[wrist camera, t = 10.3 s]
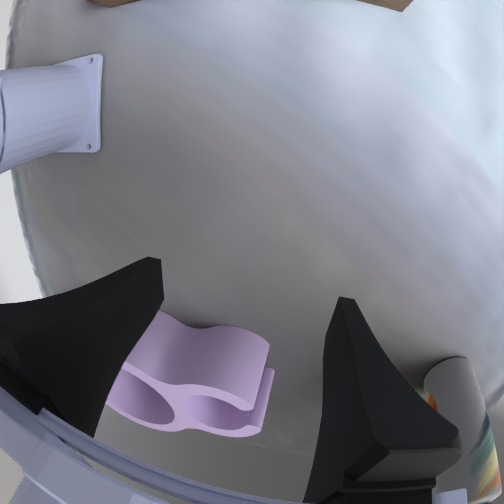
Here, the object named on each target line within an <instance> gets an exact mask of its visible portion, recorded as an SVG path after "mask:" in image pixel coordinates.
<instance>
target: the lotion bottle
mask: <svg viewBox="0 0 504 504" xmlns="http://www.w3.org/2000/svg"><path fill="white" fill-rule="evenodd" d="M424 392H425V398H426V402H427V403H428V404H429V405H430V406H431V407H432V408H433V409H434V410H436V411H437V412H438V413H439V414H440V415H442V416H443V417H444V418H446V419H447V420H448V421H449V422H451V423H452V424H453V425H455V426H456V427H457V428H458V430H459V434H460V439H461V445H462V456H461V458H460V459H459V460H458V462H456V463H455V464H454V465H453V466H451V467H450V468H449V469H447V470H446V471H444V472H443V473H441V474H440V475H438V476H436V494H438V493H442V492H448V491H453V490H458V489H463V488H465V489H466V491H467V504H488V503H489V502H491V501H492V500H494V499H495V498H497V497H498V496H499V495H500V494H501V480H500V472H499V466H498V460H497V454H496V449H495V445H494V440H493V435H492V431H491V427H490V422H489V418H488V415H487V411H486V407H485V404H484V400H483V397H482V394H481V390H480V387H479V384H478V381H477V378H476V375H475V372H474V370H473V367H472V365H471V363H470V361H469V360H468V359H466V358H463V357H454V358H450V359H447V360H444V361H442V362H440V363H439V364H437V365H436V366H434V367H433V368H432V369H431V370H430V371H429V372H428V373H427V375H426V376H425V378H424ZM489 504H492V503H489Z"/></svg>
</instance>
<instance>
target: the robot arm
mask: <svg viewBox="0 0 504 504" xmlns="http://www.w3.org/2000/svg"><path fill="white" fill-rule="evenodd" d="M92 59H93V62H91V61H92ZM102 65H103V56H102V54H92V55H88V56H83V57H79V58H76V59H72V60H68V61H65V62H61V63H58V64H54V65H51V66H36V67H24V68H15V69H7V70H0V174H1V173H3V172H5V171H8V170H10V169H12V168H15V167H17V166H20V165H22V164H25V163H27V162H30V161H32V160H35V159H37V158H40V157H43V156H45V155H48V154H51V153H54V152H83V153H95V152H98V151H99V150H100V102H101V79H102ZM90 145H91V148H90ZM163 300H164V291H163V280H162V268H161V259H157V258H152V257H146V258H143V259H141V260H139V261H136V262H134V263H132V264H130V265H128V266H126V267H124V268H122V269H120V270H117V271H115V272H113V273H111V274H109V275H107V276H105V277H103V278H100V279H98V280H96V281H93V282H91V283H89V284H87V285H84V286H82V287H79V288H76V289H73V290H70V291H67V292H64V293H61V294H57V295H53V296H50V297H46V298H42V299H37V300H32V301H26V302H19V303H7V304H0V447H1V448H2V449H3V450H4V451H5V452H6V453H7V454H8V455H9V456H10V457H11V458H12V459H13V460H14V461H15V462H17V463H18V464H19V465H20V466H21V467H22V471H23V473H24V475H25V476H24V478H23V479H22V481H21V483H20V484H19V486H18V488H17V490H16V491H15V493H14V495H13V497H12V498H11V500H10V502H9V504H171V503H168V502H166V501H163V500H160V499H158V498H156V497H153V496H151V495H149V494H146V493H144V492H142V491H140V490H137V489H135V488H133V487H131V486H129V485H126V484H124V483H122V482H120V481H118V480H116V479H114V478H112V477H110V476H108V475H106V474H104V473H102V472H100V471H98V470H96V469H94V468H93V467H92V466H91V465H90V464H88V463H87V462H86V461H85V460H84V458H83V457H82V456H81V455H80V454H78V453H76V452H75V451H74V450H76V451H78V452H79V453H81V454H83V455H84V456H86V457H88V458H90V459H91V460H93V461H95V462H97V463H99V464H101V465H102V466H104V467H106V468H108V469H110V470H112V471H114V472H117V473H118V474H120V475H123V476H125V477H127V478H129V479H131V480H133V481H136V482H138V483H140V484H143V485H145V486H147V487H150V488H152V489H155V490H158V491H160V492H163V493H165V494H168V495H171V496H174V497H176V498H179V499H182V500H185V501H188V502H192V503H195V504H467V491H466V489H465V488H463V489H458V490H453V491H448V492H442V493H438V494H435V495H433V496H432V488H434V487H435V486H436V476H438V475H440V474H441V473H443V472H444V471H446V470H447V469H449V468H450V467H451V466H453V465H454V464H455V463H456V462H458V460H459V459H460V458H461V456H462V445H461V439H460V434H459V430H458V428H457V427H456V426H455V425H453V424H452V423H451V422H449V421H448V420H447V419H446V418H444V417H443V416H442V415H440V414H439V413H438V412H437V411H436V410H434V409H433V408H432V407H431V406H430V405H429V404H428V403H427V402H426V401H425V400H424V399H423V398H422V397H421V396H420V395H419V394H418V393H417V392H416V391H415V390H414V389H413V388H412V387H411V386H410V385H409V384H408V383H407V381H406V380H405V379H404V378H403V377H402V375H401V374H400V373H399V372H398V370H397V369H396V368H395V366H394V365H393V364H392V362H391V361H390V360H389V358H388V357H387V355H386V354H385V352H384V351H383V349H382V348H381V346H380V345H379V343H378V341H377V340H376V338H375V336H374V334H373V333H372V331H371V329H370V327H369V326H368V324H367V322H366V320H365V318H364V316H363V314H362V312H361V311H360V309H359V307H358V305H357V303H356V301H355V300H354V299H350V298H345V297H339V298H338V301H337V304H336V307H335V310H334V313H333V316H332V319H331V322H330V325H329V327H328V330H327V333H326V338H325V346H324V355H323V406H322V417H321V424H320V430H319V436H318V442H317V447H316V452H315V457H314V461H313V466H312V470H311V475H310V478H309V482H308V486H307V490H306V493H305V497H304V500H303V503H299V502H291V501H283V500H276V499H270V498H264V497H259V496H253V495H248V494H243V493H239V492H234V491H230V490H226V489H222V488H218V487H214V486H211V485H207V484H204V483H200V482H197V481H194V480H191V479H188V478H184V477H181V476H178V475H176V474H173V473H170V472H167V471H165V470H162V469H159V468H157V467H154V466H152V465H149V464H147V463H144V462H142V461H140V460H137V459H135V458H133V457H130V456H128V455H126V454H124V453H122V452H119V451H117V450H115V449H113V448H111V447H109V446H107V445H105V444H103V443H101V442H100V441H98V440H96V439H94V435H95V431H96V428H97V425H98V422H99V419H100V416H101V413H102V410H103V408H104V405H105V403H106V400H107V398H108V395H109V393H110V391H111V388H112V386H113V384H114V382H115V380H116V378H117V376H118V374H119V372H120V370H121V368H122V366H123V364H124V362H125V360H126V359H127V357H128V355H129V354H130V352H131V351H132V350H133V348H134V347H135V345H136V344H137V342H138V341H139V339H140V338H141V337H142V335H143V334H144V332H145V331H146V329H147V328H148V326H149V325H150V324H151V322H152V321H153V319H154V318H155V316H156V314H157V312H158V310H159V308H160V306H161V304H162V302H163ZM67 445H68V446H69V447H68V446H67ZM70 447H71V448H73V449H74V450H73V449H71V448H70Z"/></svg>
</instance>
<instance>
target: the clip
mask: <svg viewBox="0 0 504 504" xmlns="http://www.w3.org/2000/svg"><path fill="white" fill-rule="evenodd" d="M268 350H269V343H268V342H267V341H265V340H264V339H263V338H261V337H260V336H258V335H257V334H255V333H253V332H251V331H248V330H246V329H242V328H239V327H234V326H214V327H210V328H206V329H197V328H192V327H189V326H186V325H184V324H182V323H181V322H179V321H178V320H176V319H175V318H173V317H171V316H169V315H168V314H166V313H164V312H162V311H159V310H158V312H157V314H156V316H155V318H154V319H153V321H152V322H151V324H150V325H149V326H148V328H147V329H146V331H145V332H144V334H143V335H142V337H141V338H140V339H139V341H138V342H137V344H136V345H135V347H134V348H133V350H132V351H131V352H130V354H129V355H128V357H127V359H126V360H125V362H124V364H123V366H122V368H121V370H120V372H119V374H118V376H117V378H116V380H115V382H114V384H113V386H112V388H111V391H110V393H109V395H108V398H107V400H106V403H105V404H107V405H108V406H110V407H111V408H113V409H114V410H115V411H117V412H118V413H120V414H122V415H123V416H125V417H127V418H129V419H131V420H133V421H135V422H137V423H139V424H141V425H144V426H147V427H150V428H154V429H157V430H162V431H180V430H183V429H186V428H194V429H200V430H204V431H208V432H211V433H214V434H218V435H223V436H229V437H246V436H251V435H254V434H257V433H258V432H260V431H261V428H262V424H263V420H264V416H265V411H266V407H267V403H268V399H269V394H270V390H271V386H272V381H273V377H274V372H275V371H274V370H273V369H272V368H269V367H264V366H265V362H266V358H267V354H268Z"/></svg>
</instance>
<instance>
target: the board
mask: <svg viewBox="0 0 504 504" xmlns="http://www.w3.org/2000/svg"><path fill="white" fill-rule="evenodd" d="M86 1H88V2H92V3H96V4H100V5H104V6H108V7H115V6H119V5H123V4H127V3H131V2H135V1H140V0H86ZM358 1H362V2H367V3H371V4H375V5H379V6H383V7H386V8H390V9H393V10H397V11H400V12H403V11H404V9H405V8H406V7H407V6H408V5H409V4H410V3H411V2H412V1H413V0H358Z"/></svg>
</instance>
